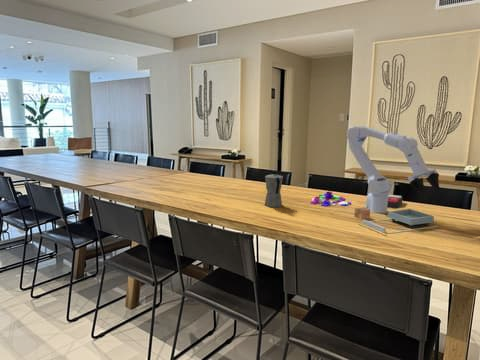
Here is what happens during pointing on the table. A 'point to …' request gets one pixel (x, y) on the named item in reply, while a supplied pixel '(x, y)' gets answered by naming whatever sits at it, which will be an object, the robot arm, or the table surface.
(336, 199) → the colorful gemstone pile
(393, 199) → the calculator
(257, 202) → the table surface
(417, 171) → the robot arm
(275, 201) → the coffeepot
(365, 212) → the block
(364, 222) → the track
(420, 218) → the light blue storage bin
